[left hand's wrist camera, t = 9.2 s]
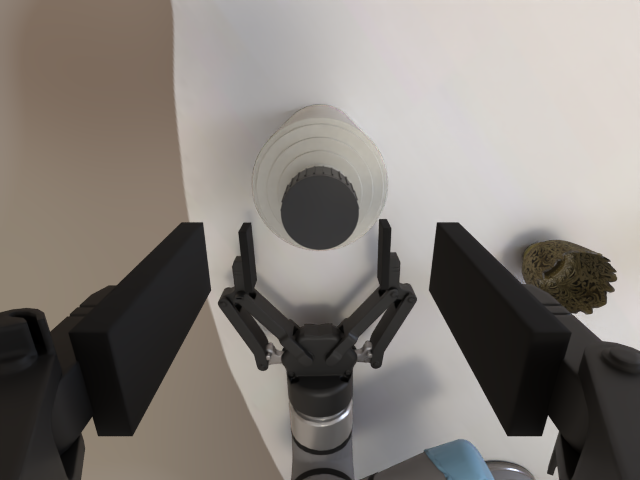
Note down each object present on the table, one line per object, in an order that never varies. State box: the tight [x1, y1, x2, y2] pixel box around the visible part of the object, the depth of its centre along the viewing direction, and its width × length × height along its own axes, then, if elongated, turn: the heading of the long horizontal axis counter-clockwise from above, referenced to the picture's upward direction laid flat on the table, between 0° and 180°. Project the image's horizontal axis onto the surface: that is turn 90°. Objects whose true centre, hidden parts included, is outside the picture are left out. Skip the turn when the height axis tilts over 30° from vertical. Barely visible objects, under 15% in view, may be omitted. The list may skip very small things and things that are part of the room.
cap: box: [280, 166, 359, 250], centre depth 20 cm, size 4×4×2 cm
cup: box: [522, 240, 617, 315], centre depth 41 cm, size 8×7×8 cm
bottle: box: [252, 105, 388, 251], centre depth 30 cm, size 8×8×23 cm
